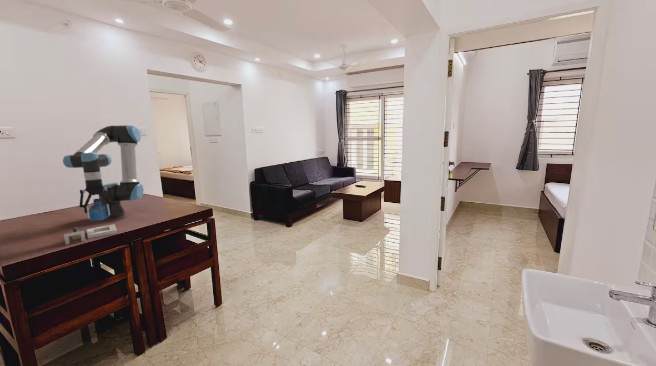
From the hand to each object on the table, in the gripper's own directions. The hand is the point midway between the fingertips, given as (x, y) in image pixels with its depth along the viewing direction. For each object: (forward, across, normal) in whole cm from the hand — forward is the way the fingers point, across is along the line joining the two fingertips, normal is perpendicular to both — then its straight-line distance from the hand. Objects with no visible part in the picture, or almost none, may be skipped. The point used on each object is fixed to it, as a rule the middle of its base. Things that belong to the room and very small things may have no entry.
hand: (99, 216), depth 168 cm
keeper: (+10, -12, -9) cm, 18 cm away
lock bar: (+10, -12, +1) cm, 16 cm away
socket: (+10, 0, 0) cm, 10 cm away
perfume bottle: (+2, 0, 0) cm, 2 cm away
